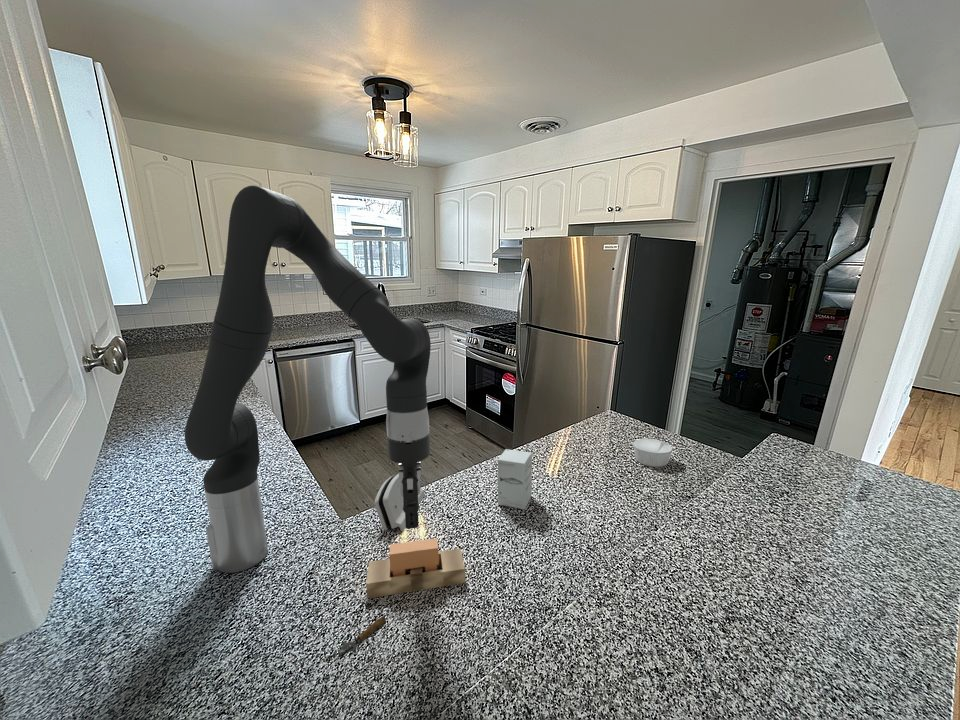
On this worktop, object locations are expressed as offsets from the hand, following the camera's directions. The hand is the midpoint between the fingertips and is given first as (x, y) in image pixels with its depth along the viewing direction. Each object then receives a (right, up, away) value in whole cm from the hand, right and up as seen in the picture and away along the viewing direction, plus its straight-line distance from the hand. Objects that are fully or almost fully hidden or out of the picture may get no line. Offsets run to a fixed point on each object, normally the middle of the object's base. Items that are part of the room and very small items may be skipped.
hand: (411, 513), depth 73 cm
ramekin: (+67, -3, +50) cm, 84 cm away
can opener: (-6, -17, -10) cm, 20 cm away
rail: (+1, -14, +3) cm, 14 cm away
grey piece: (-7, -10, +26) cm, 29 cm away
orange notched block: (0, -14, +3) cm, 14 cm away
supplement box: (+22, -8, +29) cm, 38 cm away
